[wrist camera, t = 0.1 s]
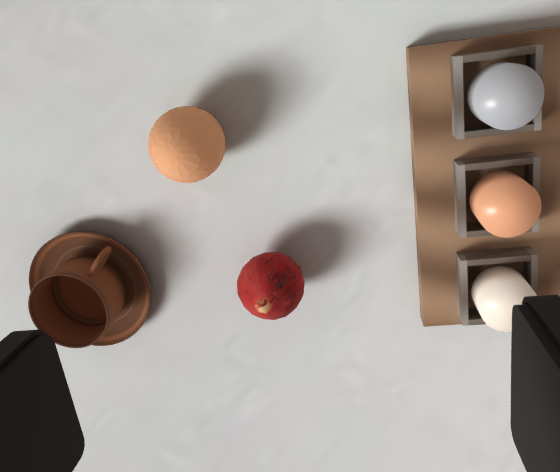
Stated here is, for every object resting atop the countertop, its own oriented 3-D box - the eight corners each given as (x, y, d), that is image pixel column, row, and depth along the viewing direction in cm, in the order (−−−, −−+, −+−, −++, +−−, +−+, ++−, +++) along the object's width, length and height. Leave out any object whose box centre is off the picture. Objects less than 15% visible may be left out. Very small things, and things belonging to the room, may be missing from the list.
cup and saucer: (42, 213, 51) (3, 234, 45) (163, 241, 51) (140, 267, 45) (36, 320, 55) (1, 353, 49) (149, 347, 55) (126, 383, 49)
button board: (405, 47, 42) (412, 48, 39) (566, 25, 41) (589, 23, 37) (420, 316, 50) (427, 337, 46) (556, 306, 48) (574, 329, 45)
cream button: (470, 268, 44) (479, 283, 41) (526, 263, 43) (539, 279, 41) (471, 315, 45) (480, 333, 43) (525, 311, 45) (538, 330, 42)
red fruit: (275, 227, 49) (263, 261, 41) (319, 270, 50) (315, 310, 42) (232, 267, 51) (214, 306, 43) (275, 307, 52) (264, 352, 44)
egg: (196, 86, 45) (168, 95, 38) (247, 137, 46) (229, 156, 39) (151, 136, 47) (116, 154, 40) (201, 184, 48) (176, 210, 41)
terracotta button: (468, 173, 41) (478, 183, 39) (528, 167, 41) (542, 176, 38) (469, 227, 43) (478, 240, 40) (527, 221, 42) (540, 234, 39)
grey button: (466, 66, 39) (476, 68, 36) (530, 58, 38) (545, 59, 35) (467, 127, 40) (477, 133, 37) (529, 120, 40) (543, 126, 37)
